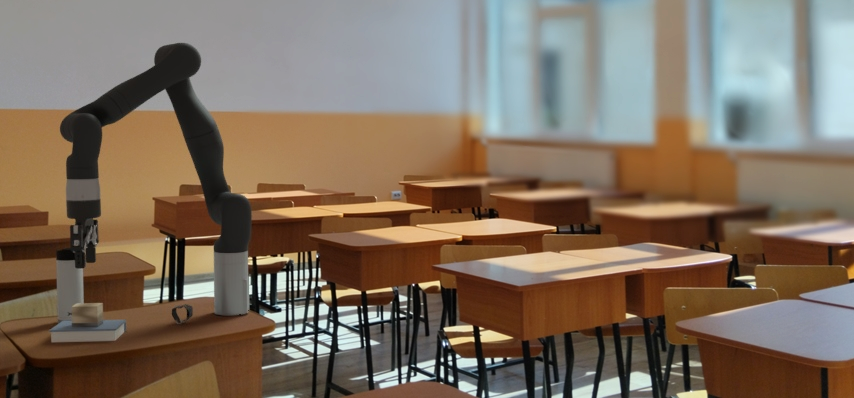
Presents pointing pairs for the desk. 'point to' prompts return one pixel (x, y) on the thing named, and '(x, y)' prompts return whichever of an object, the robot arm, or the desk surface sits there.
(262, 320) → the desk surface
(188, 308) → the wristwatch
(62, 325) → the textbook
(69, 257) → the travel mug
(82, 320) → the tan wooden block
